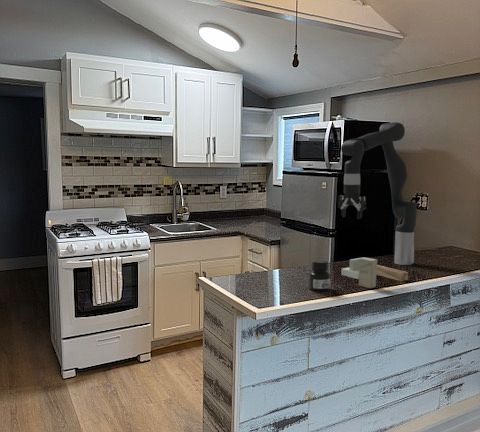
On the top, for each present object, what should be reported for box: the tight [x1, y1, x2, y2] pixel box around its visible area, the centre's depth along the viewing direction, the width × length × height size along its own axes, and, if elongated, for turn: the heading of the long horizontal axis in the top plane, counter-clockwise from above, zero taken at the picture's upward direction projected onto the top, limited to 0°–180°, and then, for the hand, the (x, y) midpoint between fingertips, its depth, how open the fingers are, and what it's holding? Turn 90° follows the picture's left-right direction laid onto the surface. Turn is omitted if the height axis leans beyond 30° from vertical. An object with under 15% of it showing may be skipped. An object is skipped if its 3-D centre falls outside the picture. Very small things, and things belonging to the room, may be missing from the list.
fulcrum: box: [340, 256, 365, 280], centre depth 219 cm, size 12×10×8 cm
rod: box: [376, 264, 409, 282], centre depth 217 cm, size 4×18×4 cm, turn 32°
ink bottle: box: [308, 259, 331, 292], centre depth 195 cm, size 10×9×12 cm
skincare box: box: [358, 257, 378, 289], centre depth 199 cm, size 6×4×12 cm
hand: (351, 217), depth 217 cm, fingers open, 8 cm apart
